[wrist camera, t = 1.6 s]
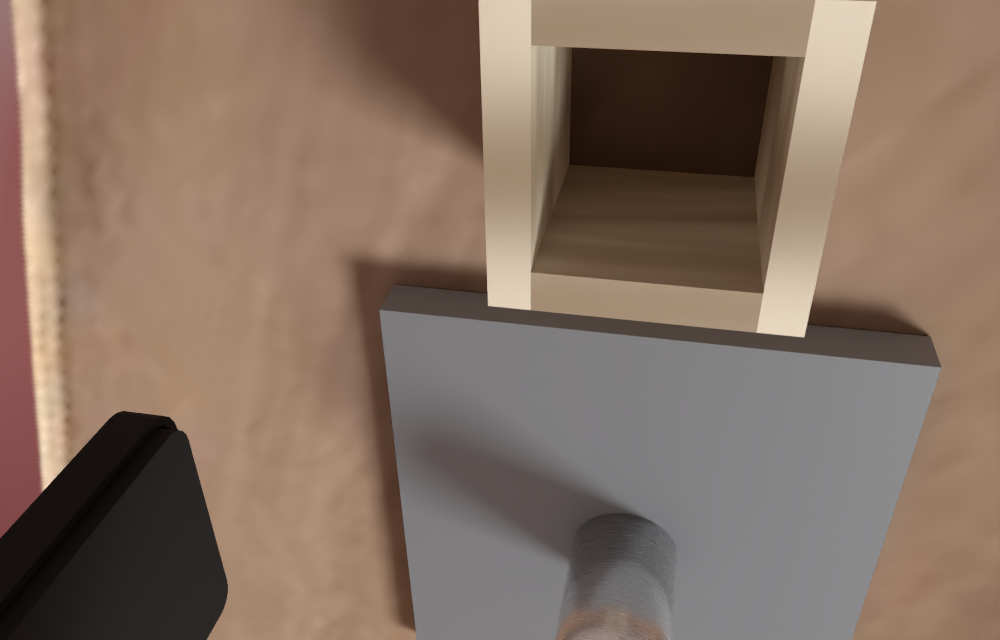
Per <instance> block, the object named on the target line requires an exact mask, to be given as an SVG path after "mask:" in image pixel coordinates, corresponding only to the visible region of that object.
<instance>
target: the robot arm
mask: <svg viewBox="0 0 1000 640" xmlns="http://www.w3.org/2000/svg"><path fill="white" fill-rule="evenodd" d="M227 593H228V584H227V579H226V575H225V572H224V568H223V564H222V561H221V557H220V553H219V550H218V546H217V542H216V539H215V535H214V531H213V528H212V524H211V520H210V517H209V513H208V509H207V506H206V502H205V498H204V495H203V491H202V487H201V484H200V480H199V476H198V473H197V469H196V465H195V462H194V458H193V454H192V451H191V447H190V444H189V440H188V438H187V435H186V434H185V433H184V432H183V431H179V430H178V429H177V427H176V425H175V422H174V421H173V420H172V419H171V418H170V417H165V416H158V415H150V414H142V413H134V412H127V411H122V412H119V413H116V414H115V415H113V416H112V417H111V418H110V419H109V420H108V421H107V422H106V423H105V424H104V425H103V426H102V428H101V429H100V430H99V431H98V432H97V433H96V434H95V435H94V436H93V437H92V438H91V440H90V441H89V442H88V443H87V444H86V445H85V446H84V447H83V448H82V449H81V451H80V452H79V453H78V454H77V455H76V456H75V457H74V458H73V459H72V460H71V462H70V463H69V464H68V465H67V466H66V467H65V468H64V469H63V470H62V471H61V472H60V474H59V475H58V476H57V477H56V478H55V479H54V480H53V481H52V482H51V483H50V485H49V486H48V487H47V488H46V489H45V490H44V491H43V492H42V493H41V494H40V496H39V497H38V498H37V499H36V500H35V501H34V502H33V503H32V504H31V505H30V507H29V508H28V509H27V510H26V511H25V512H24V513H23V514H22V515H21V516H20V518H19V519H18V520H17V521H16V522H15V523H14V524H13V525H12V526H11V527H10V528H9V530H8V531H7V532H6V533H5V534H4V535H3V536H2V537H1V538H0V640H207V638H208V636H209V634H210V633H211V631H212V629H213V627H214V626H215V624H216V622H217V620H218V619H219V617H220V615H221V613H222V611H223V609H224V606H225V603H226V599H227Z"/></svg>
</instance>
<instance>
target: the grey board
mask: <svg viewBox="0 0 1000 640" xmlns="http://www.w3.org/2000/svg"><path fill="white" fill-rule="evenodd" d="M379 313H380V321H381V330H382V339H383V348H384V357H385V365H386V374H387V383H388V392H389V400H390V409H391V418H392V427H393V436H394V444H395V453H396V462H397V471H398V479H399V488H400V497H401V506H402V515H403V523H404V532H405V541H406V550H407V558H408V567H409V576H410V585H411V594H412V602H413V611H414V620H415V629H416V637H417V640H555V636H556V631H557V625H558V620H559V614H560V609H561V603H562V598H563V593H564V587H565V582H566V576H567V571H568V565H569V560H570V555H571V549H572V544H573V538H574V536H575V533H576V531H577V530H578V529H579V527H580V526H581V525H582V524H584V523H585V522H586V521H588V520H590V519H592V518H594V517H597V516H600V515H605V514H613V513H622V514H630V515H635V516H639V517H642V518H645V519H647V520H650V521H652V522H654V523H655V524H657V525H658V526H660V527H661V528H663V529H664V530H665V531H666V532H667V533H668V534H669V535H670V537H671V538H672V539H673V541H674V543H675V545H676V548H677V553H678V557H677V576H676V595H675V614H674V633H673V640H852V637H853V634H854V631H855V628H856V625H857V622H858V619H859V616H860V613H861V610H862V607H863V604H864V601H865V597H866V594H867V591H868V588H869V585H870V582H871V579H872V576H873V573H874V570H875V567H876V564H877V561H878V558H879V555H880V552H881V549H882V546H883V543H884V540H885V537H886V534H887V531H888V528H889V525H890V522H891V519H892V516H893V513H894V510H895V507H896V504H897V501H898V498H899V495H900V491H901V488H902V485H903V482H904V479H905V476H906V473H907V470H908V467H909V464H910V461H911V458H912V455H913V452H914V449H915V446H916V443H917V440H918V437H919V434H920V431H921V428H922V425H923V422H924V419H925V416H926V413H927V410H928V407H929V404H930V401H931V398H932V395H933V392H934V389H935V385H936V382H937V379H938V376H939V373H940V370H941V365H940V362H939V359H938V357H937V354H936V351H935V348H934V345H933V342H932V339H931V337H929V336H919V335H909V334H898V333H888V332H878V331H868V330H857V329H847V328H837V327H826V326H816V325H807V327H806V332H805V336H804V337H795V336H785V335H775V334H765V333H755V332H745V331H735V330H725V329H714V328H704V327H694V326H684V325H674V324H664V323H654V322H644V321H634V320H624V319H614V318H604V317H594V316H584V315H574V314H564V313H554V312H544V311H534V310H524V309H514V308H504V307H494V306H488V294H486V293H475V292H465V291H455V290H444V289H434V288H424V287H413V286H403V285H394V286H393V288H392V289H391V291H390V293H389V294H388V296H387V298H386V299H385V301H384V303H383V304H382V306H381V308H380V309H379Z"/></svg>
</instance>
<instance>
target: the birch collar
mask: <svg viewBox="0 0 1000 640" xmlns="http://www.w3.org/2000/svg"><path fill="white" fill-rule="evenodd" d="M876 2H877V1H876V0H479V31H480V63H481V96H482V128H483V161H484V193H485V226H486V258H487V291H488V306H494V307H504V308H514V309H524V310H534V311H544V312H554V313H564V314H574V315H584V316H594V317H604V318H614V319H624V320H634V321H644V322H654V323H664V324H674V325H684V326H694V327H704V328H714V329H725V330H735V331H745V332H755V333H765V334H775V335H785V336H795V337H804V336H805V332H806V327H807V322H808V318H809V313H810V308H811V304H812V299H813V294H814V290H815V285H816V281H817V276H818V271H819V267H820V262H821V257H822V253H823V248H824V243H825V239H826V234H827V229H828V225H829V220H830V216H831V211H832V206H833V202H834V197H835V192H836V188H837V183H838V178H839V174H840V169H841V164H842V160H843V155H844V151H845V146H846V141H847V137H848V132H849V127H850V123H851V118H852V113H853V109H854V104H855V99H856V95H857V90H858V86H859V81H860V76H861V72H862V67H863V62H864V58H865V53H866V48H867V44H868V39H869V34H870V30H871V25H872V21H873V16H874V11H875V7H876ZM572 47H578V48H601V49H624V50H648V51H671V52H694V53H718V54H741V55H765V56H773V61H772V68H771V74H770V81H769V87H768V93H767V100H766V106H765V112H764V119H763V125H762V132H761V138H760V144H759V151H758V157H757V164H756V170H755V176H754V177H743V176H729V175H714V174H699V173H684V172H670V171H655V170H640V169H625V168H611V167H596V166H581V165H569V152H570V117H571V81H572Z"/></svg>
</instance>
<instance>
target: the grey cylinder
mask: <svg viewBox="0 0 1000 640" xmlns="http://www.w3.org/2000/svg"><path fill="white" fill-rule="evenodd" d="M677 557H678V553H677V548H676V545H675V543H674V541H673V539H672V538H671V537H670V535H669V534H668V533H667V532H666V531H665V530H664V529H663V528H661V527H660V526H658V525H657V524H655V523H654V522H652V521H650V520H647V519H645V518H642V517H639V516H635V515H630V514H622V513H613V514H605V515H600V516H597V517H594V518H592V519H590V520H588V521H586V522H585V523H584V524H582V525H581V526H580V527H579V529H578V530H577V531H576V533H575V536H574V538H573V544H572V549H571V555H570V560H569V565H568V571H567V576H566V582H565V587H564V593H563V598H562V603H561V609H560V614H559V620H558V625H557V631H556V636H555V640H673V633H674V614H675V595H676V576H677Z"/></svg>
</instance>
